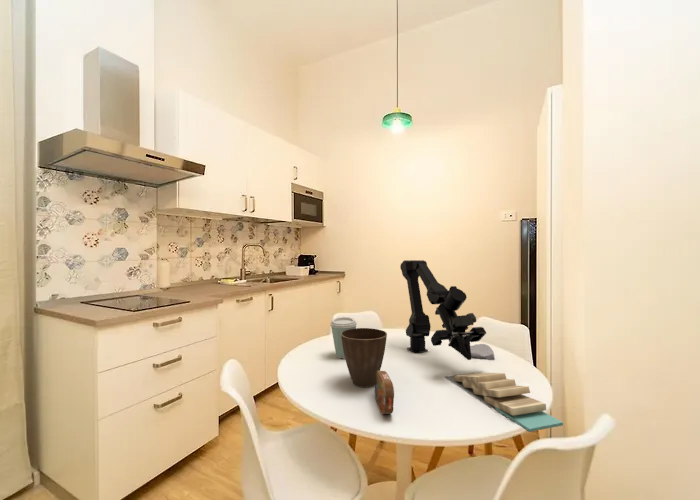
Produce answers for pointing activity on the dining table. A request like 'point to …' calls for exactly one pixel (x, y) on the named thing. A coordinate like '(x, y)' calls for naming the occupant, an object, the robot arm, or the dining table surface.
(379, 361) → the plant pot
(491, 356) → the stone block
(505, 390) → the domino
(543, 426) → the domino
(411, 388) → the dining table surface
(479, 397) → the mat
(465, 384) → the domino
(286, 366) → the dining table surface
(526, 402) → the domino
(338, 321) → the disposable coffee cup
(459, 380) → the domino
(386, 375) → the tin
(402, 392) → the dining table surface
